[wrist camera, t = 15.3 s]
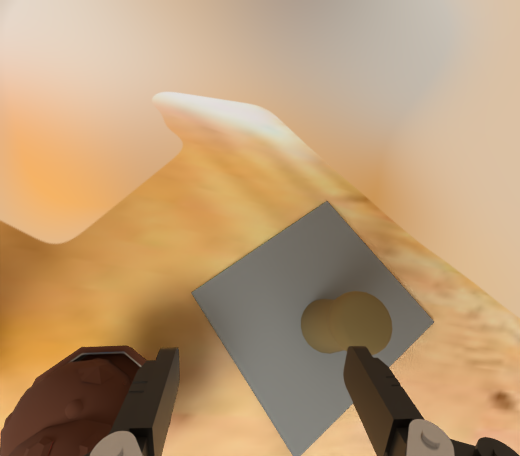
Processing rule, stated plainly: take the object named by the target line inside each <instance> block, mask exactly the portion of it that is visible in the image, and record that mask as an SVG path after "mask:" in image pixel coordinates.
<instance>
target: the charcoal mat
mask: <svg viewBox="0 0 520 456" xmlns="http://www.w3.org/2000/svg"><path fill="white" fill-rule="evenodd" d="M351 291H360V292H366V293H369V294H371V295H373V296H375V297H376V298H377V299H379V300H380V301H381V302H382V303H383V304H384V306H385V307H386V308H387V310H388V312H389V314H390V317H391V320H392V335H391V340H390V341H389V343H388V344H387V346H386V348H384V349H383V350H382V351H380V352H379V353H377V354H374V355H372V356H373V358H379V359H380V360H381V361H382V362H384V363H385V364H386V365H387V366H388V367H390V366H391V365H392V364H393V363H394V362H395V361H396V360H397V359H398V358H399V357H400V356H401V355H402V354H403V353H404V352H405V351H406V350H407V349H408V348H409V347H410V346H411V345H412V344H413V343H414V342H415V341H416V340H417V339H418V338H419V337H420V336H421V335H422V334H423V333H424V332H425V331H426V330H427V329H428V328H429V327H430V326H431V325H432V324H433V323H434V321H433V320H432V319H431V317H430V316H429V315H428V314H427V313H426V312H425V311H424V310H423V308H422V307H421V306H420V305H419V304H418V303H417V302H416V301H415V299H414V298H413V297H412V296H411V295H410V294H409V293H408V292H407V290H406V289H405V288H404V287H403V286H402V285H401V284H400V283H399V281H398V280H397V279H396V278H395V277H394V276H393V275H392V274H391V272H390V271H389V270H388V269H387V268H386V267H385V266H384V265H383V263H382V262H381V261H380V260H379V259H378V258H377V257H376V256H375V254H374V253H373V252H372V251H371V250H370V249H369V248H368V247H367V245H366V244H365V243H364V242H363V241H362V240H361V239H360V237H359V236H358V235H357V234H356V233H355V232H354V231H353V230H352V228H351V227H350V226H349V225H348V224H347V223H346V222H345V221H344V219H343V218H342V217H341V216H340V215H339V214H338V213H337V212H336V210H335V209H334V208H333V207H332V206H331V205H330V204H329V203H328V201H326V202H325V203H323V204H322V205H320V206H319V207H317V208H316V209H314V210H313V211H311V212H310V213H308V214H307V215H305V216H304V217H302V218H301V219H299V220H298V221H297V222H295V223H294V224H292V225H291V226H289V227H288V228H286V229H285V230H283V231H282V232H280V233H279V234H277V235H276V236H274V237H273V238H271V239H270V240H268V241H267V242H265V243H264V244H262V245H261V246H259V247H258V248H257V249H255V250H254V251H252V252H251V253H249V254H248V255H246V256H245V257H243V258H242V259H240V260H239V261H237V262H236V263H234V264H233V265H231V266H230V267H228V268H227V269H225V270H224V271H222V272H221V273H219V274H218V275H217V276H215V277H214V278H212V279H211V280H209V281H208V282H206V283H205V284H203V285H202V286H200V287H199V288H197V289H196V290H194V291H193V292H191V293H192V295H193V296H194V298H195V300H196V301H197V303H198V304H199V306H200V308H201V309H202V311H203V312H204V314H205V316H206V317H207V319H208V321H209V322H210V324H211V325H212V327H213V329H214V330H215V332H216V333H217V335H218V337H219V338H220V340H221V341H222V343H223V345H224V346H225V348H226V349H227V351H228V353H229V354H230V356H231V357H232V359H233V361H234V362H235V364H236V365H237V367H238V369H239V370H240V372H241V373H242V375H243V377H244V378H245V380H246V381H247V383H248V385H249V386H250V388H251V389H252V391H253V393H254V394H255V396H256V397H257V399H258V401H259V402H260V404H261V405H262V407H263V409H264V410H265V412H266V413H267V415H268V417H269V418H270V420H271V421H272V423H273V425H274V426H275V428H276V430H277V431H278V433H279V434H280V436H281V438H282V439H283V441H284V442H285V444H286V446H287V447H288V449H289V450H290V452H291V454H292V455H293V456H301V455H302V454H303V453H304V452H305V451H306V450H307V449H308V448H309V447H310V446H311V445H312V444H313V443H314V442H315V441H316V440H317V439H318V438H319V437H320V436H321V435H322V434H323V433H324V432H325V431H326V430H327V429H328V428H329V427H330V426H331V425H332V424H333V423H334V422H335V421H336V420H337V419H338V418H339V417H340V416H341V415H342V414H343V413H344V412H345V411H346V410H347V409H348V408H349V407H350V406H351V405H352V404H353V401H352V399H351V397H350V395H349V392H348V390H347V388H346V386H345V383H344V377H343V371H344V365H345V360H346V354H347V351H345V350H344V351H339V352H335V353H331V354H328V353H321V352H319V351H317V350H315V349H313V348H312V347H311V346H310V345H309V344H308V343H307V341H306V340H305V338H304V336H303V334H302V330H301V317H302V314H303V312H304V310H305V309H306V307H307V306H308V305H309V304H310V303H312V302H314V301H316V300H320V299H336V298H338V297H339V296H341V295H342V294H344V293H347V292H351Z"/></svg>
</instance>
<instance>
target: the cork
mask: <svg viewBox="0 0 520 456" xmlns="http://www.w3.org/2000/svg"><path fill="white" fill-rule="evenodd" d="M301 330H302V334H303V336H304V338H305V340H306V341H307V343H308V344H309V345H310V346H311V347H312V348H313V349H315V350H317V351H319V352H321V353H328V354H331V353H335V352H339V351H344V350H345V351H347V349H348V347H349V346H366V347H367V349H368V350H369V352H370V353H371V355H374V354H377V353H379V352H380V351H382V350H383V349H384V348H386V346H387V344H388V343H389V341H390V340H391V335H392V320H391V317H390V314H389V312H388V310H387V308H386V307H385V306H384V304H383V303H382V302H381V301H380V300H379V299H377V298H376V297H375V296H373V295H371V294H369V293H366V292H360V291H351V292H347V293H344V294H342V295H341V296H339V297H338V298H336V299H320V300H316V301H314V302H312V303H310V304H309V305H308V306H307V307H306V309H305V310H304V312H303V314H302V317H301Z"/></svg>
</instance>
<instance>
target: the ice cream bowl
mask: <svg viewBox="0 0 520 456" xmlns="http://www.w3.org/2000/svg"><path fill="white" fill-rule="evenodd" d="M146 361H147V360H146V359H145V358H143V357H142V356H141V355H140V354H138V353H137V352H136V351H135V350H134V349H132V348H131V347H129V346H102V347H81V348H79V349H78V350H77V351H75V352H74V353H72V354H71V355H69V356H68V357H66V358H65V359H64V360H62V361H61V362H59V363H58V364H56V365H55V366H53V367H52V368H50V369H49V370H48V371H46V372H45V373H43V374H42V375H40V376H39V377H37V378H36V379H35V381H34V383H33V385H32V387H30V388H29V389H28V390H27V391H26V392H25V393H24V395H23V396H22V397H21V399H20V401H19V402H18V404H17V406H16V407H15V409H14V411H13V412H12V413H11V414H10V415H9V416H8V417H7V418H6V420H5V424H4V428H3V429H2V431H1V443H0V456H83V455H86V454H87V453H89V452H91V451H92V450H93V449H94V447H95V446H96V445H97V444H98V443H99V442H100V441H101V440H102V439H103V438H105V437H106V436H108V434H109V432H110V431H111V428H112V426H113V424H114V422H115V420H116V417H117V415H118V413H119V411H120V409H121V406H122V404H123V402H124V400H125V397H126V395H127V393H128V391H129V389H130V386H131V384H132V383H133V380H134V377H135V375H136V373H137V371H138V370H139V368H140V367H141V366H142V365H143V364H144V363H145V362H146ZM170 421H171V419H170ZM169 425H170V423H169ZM168 428H169V427H168Z"/></svg>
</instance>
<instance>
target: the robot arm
mask: <svg viewBox="0 0 520 456" xmlns="http://www.w3.org/2000/svg"><path fill="white" fill-rule="evenodd" d="M179 377H180V371H179V349H178V348H161V349H160V351H159V353H158V356H157V358H156V361H146V362H145V363H144V364H143V365H142V366H141V367H140V368H139V370H138V371H137V373H136V375H135V377H134V380H133V383H132V384H131V386H130V389H129V391H128V393H127V395H126V397H125V400H124V402H123V404H122V406H121V409H120V411H119V413H118V415H117V417H116V420H115V422H114V424H113V426H112V428H111V431H110V432H109V434H108V436H106V437H105V438H103V439H102V440H101V441H100V442H99V443H98V444H97V445H96V446H95V447H94V449H93V450H92V451H91V452H89V453H87V454H86V455H83V456H161V455H162V451H163V447H164V443H165V439H166V435H167V431H168V427H169V423H170V419H171V415H172V411H173V407H174V403H175V399H176V395H177V391H178V386H179ZM343 377H344V383H345V386H346V388H347V390H348V392H349V395H350V397H351V399H352V401H353V404H354V406H355V408H356V410H357V412H358V415H359V417H360V419H361V421H362V423H363V426H364V428H365V430H366V432H367V435H368V437H369V439H370V441H371V443H372V446H373V448H374V450H375V452H376V454H377V456H519V455H518V454H517V453H516V452H515V451H514V450H512V449H511V448H510V447H508V446H507V445H505V444H504V443H502V442H500V441H498V440H495V439H492V438H488V437H483V438H480V439H479V440H478V442H477V444H476V446H473V445H469V444H466V443H462V442H459V441H455V440H452V439H449V437H448V436H447V435H446V434H445V432H443V431H442V430H441V429H440V428H439V427H438V426H436V425H435V424H433V423H431V422H429V421H426V420H425V419H424V418H423V417H422V415H421V414H420V412H419V411H418V409H417V408H416V406H415V405H414V404H413V402H412V401H411V399H410V398H409V396H408V395H407V393H406V392H405V390H404V389H403V388H402V387H401V385H400V383H399V382H398V380H397V379H396V378H395V376H394V374H393V373H392V372H391V370H390V369H389V367H388V366H387V365H386V364H385V363H384V362H382V361H381V360H380V359H379V358H373V356H372V355H371V353H370V352H369V350H368V349H367V347H366V346H349V347H348V349H347V354H346V360H345V365H344V371H343Z"/></svg>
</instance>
